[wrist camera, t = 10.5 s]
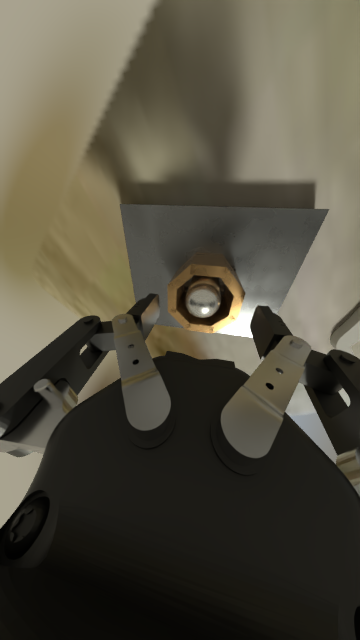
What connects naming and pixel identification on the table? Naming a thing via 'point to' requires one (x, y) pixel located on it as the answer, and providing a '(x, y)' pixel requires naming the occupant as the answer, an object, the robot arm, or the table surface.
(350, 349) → the adjustable wrench
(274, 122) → the table surface
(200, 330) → the wooden octagonal ring
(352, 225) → the table surface
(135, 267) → the block
